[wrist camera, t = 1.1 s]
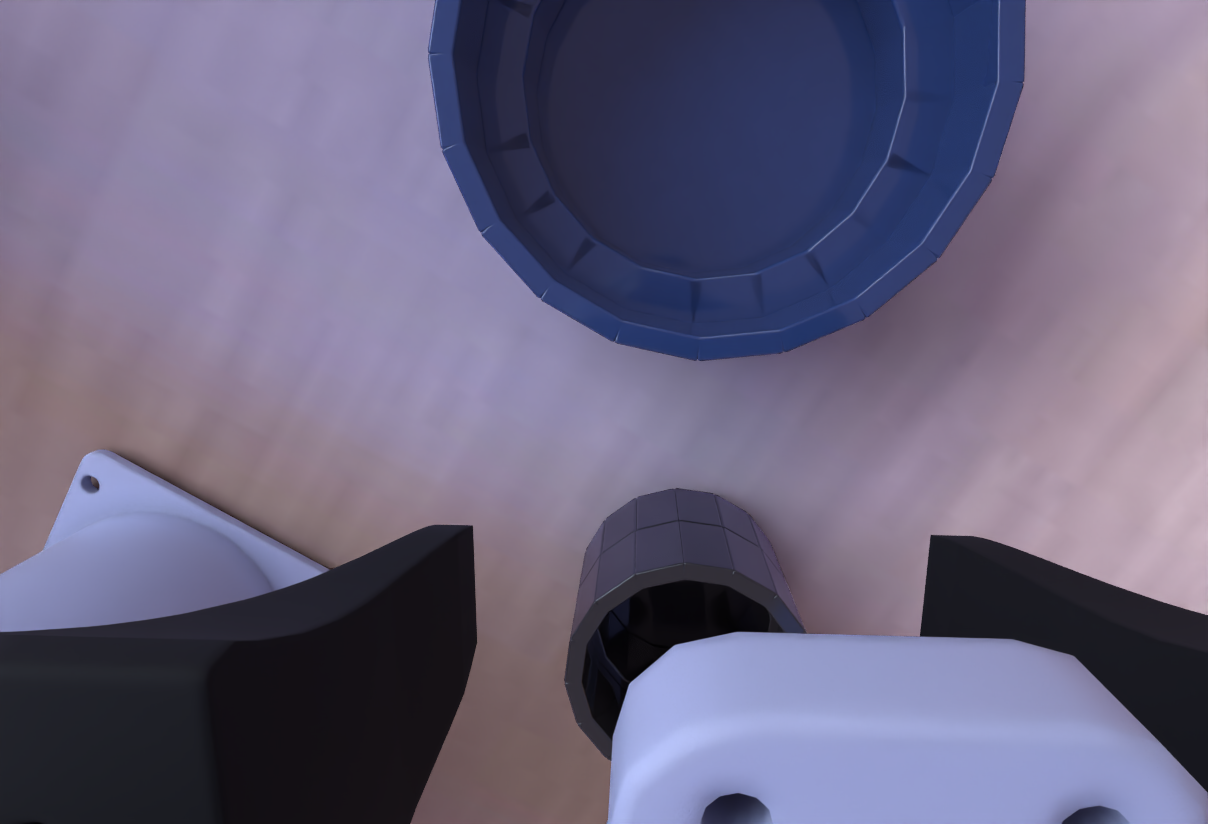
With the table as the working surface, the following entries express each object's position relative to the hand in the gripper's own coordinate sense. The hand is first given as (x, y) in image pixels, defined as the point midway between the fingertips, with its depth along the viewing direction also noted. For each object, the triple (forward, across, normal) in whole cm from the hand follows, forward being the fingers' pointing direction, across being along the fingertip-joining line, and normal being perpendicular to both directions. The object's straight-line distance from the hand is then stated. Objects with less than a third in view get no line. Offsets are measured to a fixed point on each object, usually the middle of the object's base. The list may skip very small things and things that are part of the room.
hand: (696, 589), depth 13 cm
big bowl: (+10, 0, -8) cm, 13 cm away
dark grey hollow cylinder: (+10, 0, +4) cm, 10 cm away
